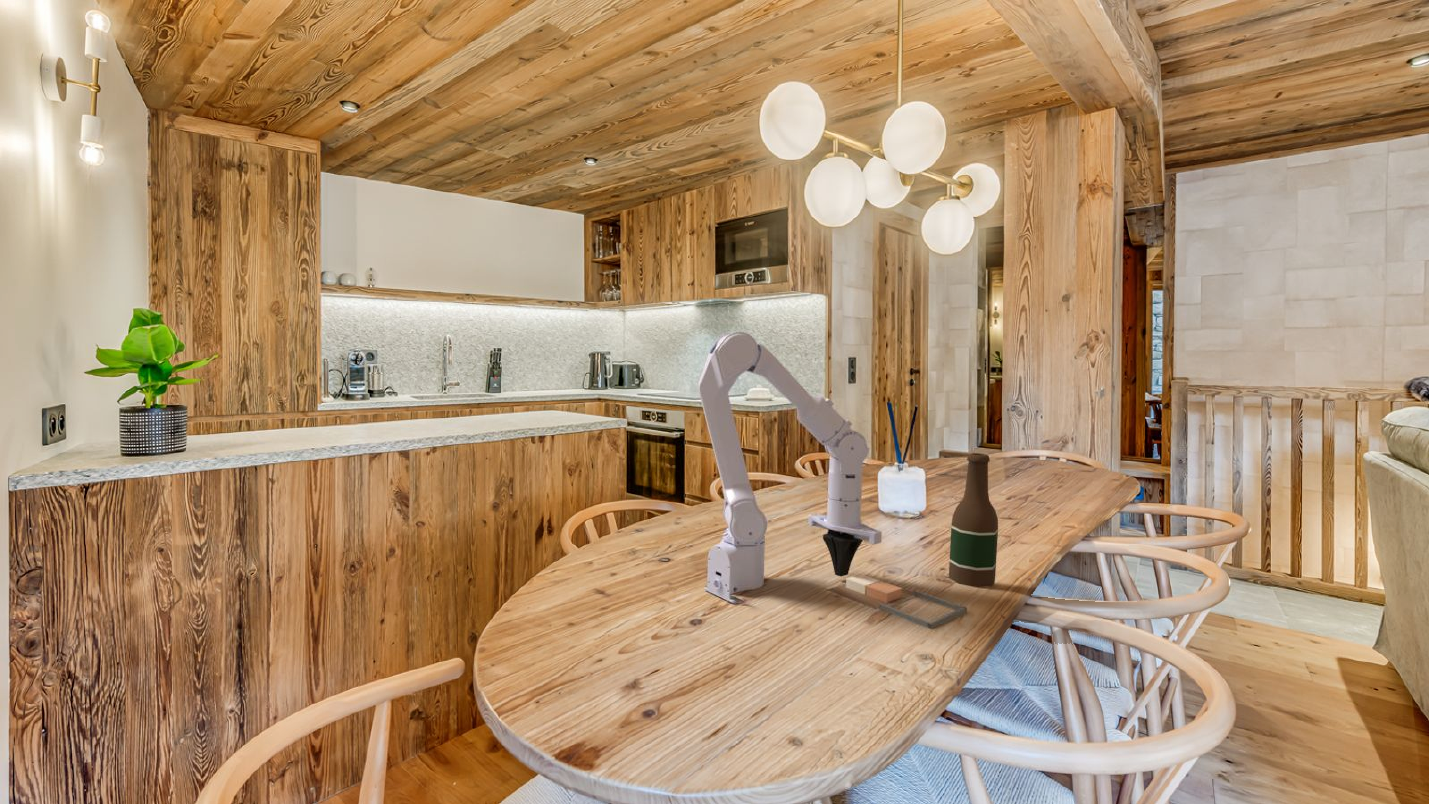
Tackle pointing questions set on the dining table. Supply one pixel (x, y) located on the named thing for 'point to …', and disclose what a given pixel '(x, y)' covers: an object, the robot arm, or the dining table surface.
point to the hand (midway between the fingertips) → (841, 574)
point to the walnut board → (865, 596)
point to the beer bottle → (974, 530)
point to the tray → (958, 611)
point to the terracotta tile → (884, 591)
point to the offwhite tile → (860, 583)
